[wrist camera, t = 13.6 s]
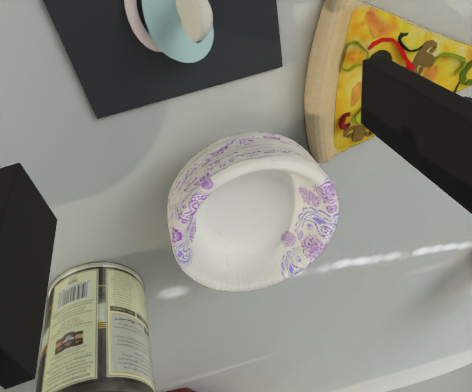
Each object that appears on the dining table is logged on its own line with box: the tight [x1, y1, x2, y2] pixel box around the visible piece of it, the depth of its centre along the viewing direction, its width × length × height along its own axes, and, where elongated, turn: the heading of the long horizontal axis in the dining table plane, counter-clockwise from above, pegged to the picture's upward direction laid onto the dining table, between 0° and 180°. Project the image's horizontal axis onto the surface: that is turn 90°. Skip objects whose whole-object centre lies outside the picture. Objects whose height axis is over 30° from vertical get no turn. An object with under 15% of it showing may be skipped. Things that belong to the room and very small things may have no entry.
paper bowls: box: [167, 132, 339, 292], centre depth 36 cm, size 15×15×8 cm
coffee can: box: [36, 262, 155, 392], centre depth 38 cm, size 10×10×14 cm
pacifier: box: [124, 0, 214, 63], centre depth 25 cm, size 7×6×6 cm
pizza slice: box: [304, 0, 472, 163], centre depth 35 cm, size 16×21×3 cm
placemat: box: [44, 0, 282, 119], centre depth 27 cm, size 16×14×1 cm
